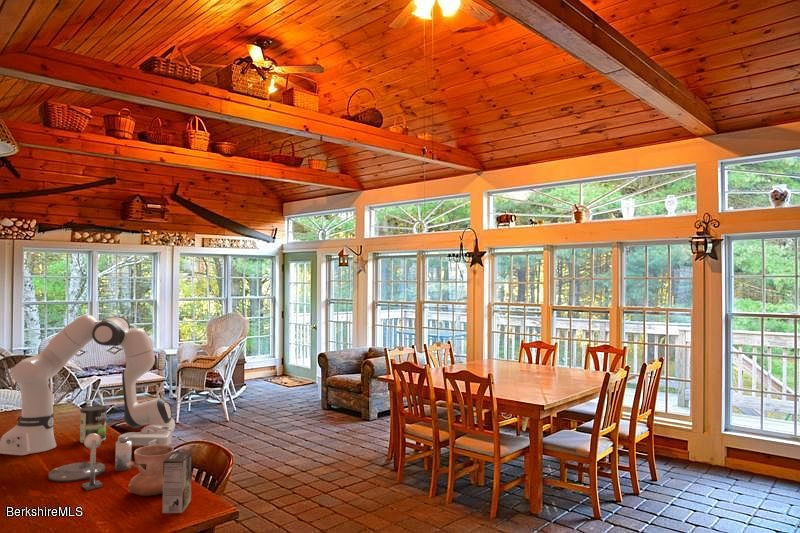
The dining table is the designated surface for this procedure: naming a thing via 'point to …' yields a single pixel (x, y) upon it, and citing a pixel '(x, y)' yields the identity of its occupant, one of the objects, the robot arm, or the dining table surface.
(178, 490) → the coffee box
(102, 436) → the coffee can
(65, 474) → the disc
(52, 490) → the dining table surface
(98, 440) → the metal joystick
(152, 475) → the ceramic jug
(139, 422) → the robot arm
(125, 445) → the capped metal canister
